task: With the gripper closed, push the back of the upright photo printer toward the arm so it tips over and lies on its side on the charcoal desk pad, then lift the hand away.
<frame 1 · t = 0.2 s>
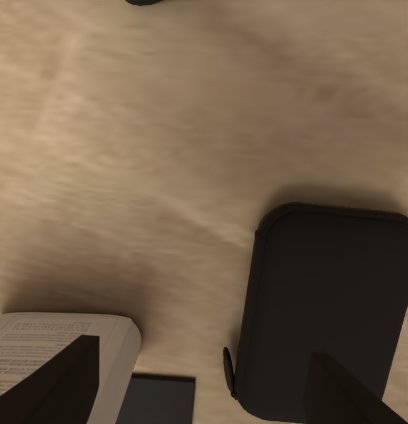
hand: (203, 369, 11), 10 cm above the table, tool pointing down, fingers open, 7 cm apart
carrying case: (304, 306, 21), on the table
photo printer: (69, 334, 22), on the table
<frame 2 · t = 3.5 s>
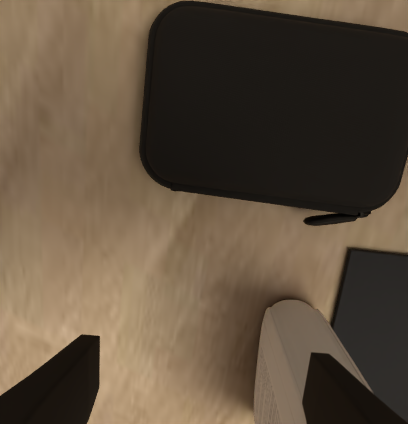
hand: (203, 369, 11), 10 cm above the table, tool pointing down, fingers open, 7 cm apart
carrying case: (271, 125, 19), on the table
photo printer: (283, 360, 23), on the table
desk pad: (400, 386, 23), on the table
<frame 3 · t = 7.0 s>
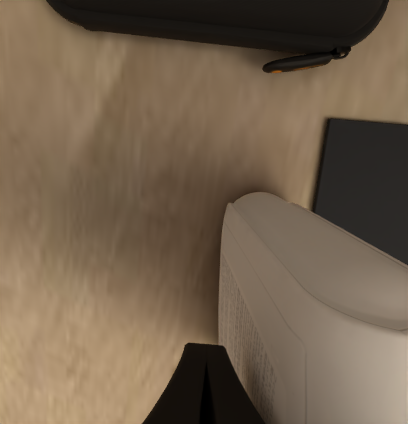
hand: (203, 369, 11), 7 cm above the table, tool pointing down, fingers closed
photo printer: (252, 280, 18), on the table, touching gripper
desk pad: (401, 307, 18), on the table
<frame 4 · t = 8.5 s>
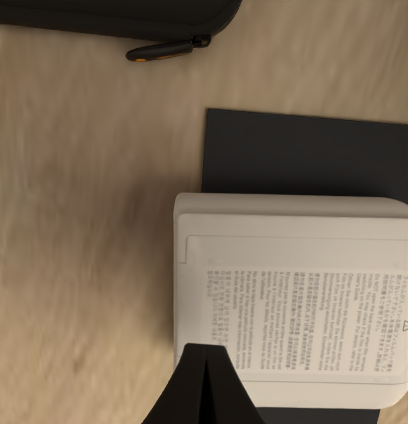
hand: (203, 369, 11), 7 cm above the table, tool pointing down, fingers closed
photo printer: (169, 298, 15), point 3 cm above the table, touching desk pad
desk pad: (297, 299, 18), on the table
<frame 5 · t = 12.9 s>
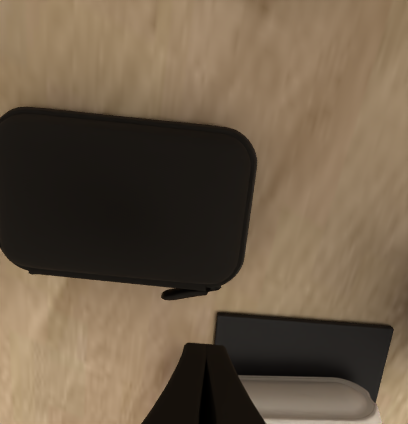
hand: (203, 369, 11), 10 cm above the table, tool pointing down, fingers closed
carrying case: (130, 205, 20), on the table
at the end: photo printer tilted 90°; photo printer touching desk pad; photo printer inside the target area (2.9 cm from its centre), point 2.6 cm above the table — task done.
